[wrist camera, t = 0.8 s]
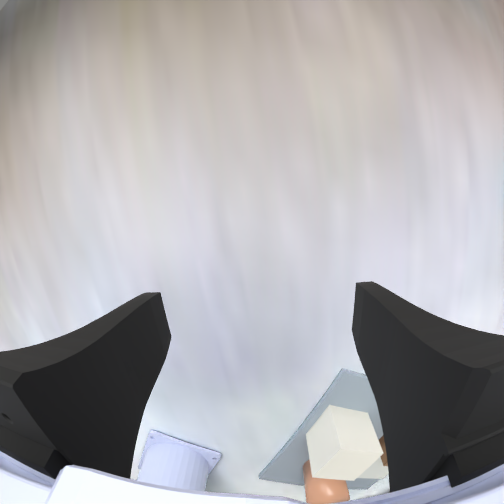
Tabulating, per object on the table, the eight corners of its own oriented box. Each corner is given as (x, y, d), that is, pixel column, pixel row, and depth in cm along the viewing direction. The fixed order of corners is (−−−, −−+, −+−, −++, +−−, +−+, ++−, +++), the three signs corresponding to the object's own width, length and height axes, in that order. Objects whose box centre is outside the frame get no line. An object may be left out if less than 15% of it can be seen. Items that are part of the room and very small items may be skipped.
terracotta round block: (327, 476, 27) (334, 511, 22) (295, 472, 27) (299, 509, 22) (348, 456, 26) (358, 493, 21) (315, 452, 26) (321, 492, 21)
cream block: (343, 440, 26) (353, 480, 20) (305, 434, 25) (312, 477, 20) (367, 412, 25) (383, 453, 19) (329, 404, 24) (341, 448, 19)
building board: (368, 486, 29) (369, 489, 29) (258, 474, 28) (258, 479, 27) (456, 395, 25) (458, 399, 24) (342, 368, 24) (344, 373, 23)
